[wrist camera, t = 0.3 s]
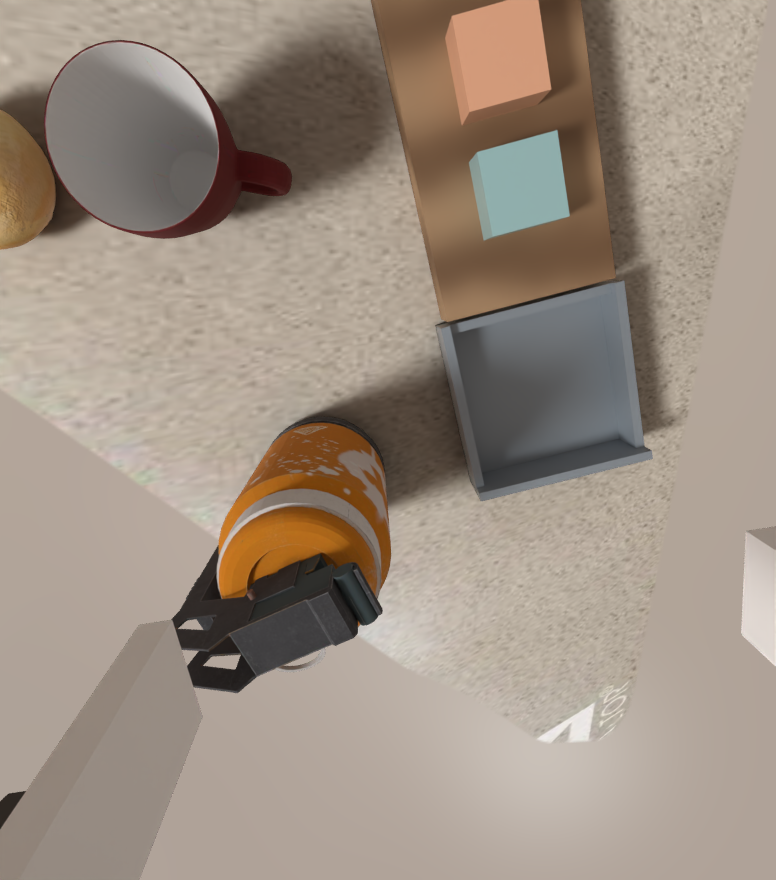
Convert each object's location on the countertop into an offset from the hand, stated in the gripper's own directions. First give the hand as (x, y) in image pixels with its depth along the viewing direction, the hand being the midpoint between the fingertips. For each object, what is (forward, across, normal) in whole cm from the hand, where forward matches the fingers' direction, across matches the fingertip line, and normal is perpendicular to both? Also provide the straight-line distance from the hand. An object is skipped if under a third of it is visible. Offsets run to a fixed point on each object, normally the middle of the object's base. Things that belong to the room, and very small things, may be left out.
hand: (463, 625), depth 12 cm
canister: (+27, -7, -5) cm, 29 cm away
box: (+27, +10, -1) cm, 29 cm away
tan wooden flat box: (+27, +8, +15) cm, 32 cm away
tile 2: (+24, +8, +18) cm, 31 cm away
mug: (+28, -9, +16) cm, 33 cm away
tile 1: (+24, +8, +12) cm, 28 cm away
